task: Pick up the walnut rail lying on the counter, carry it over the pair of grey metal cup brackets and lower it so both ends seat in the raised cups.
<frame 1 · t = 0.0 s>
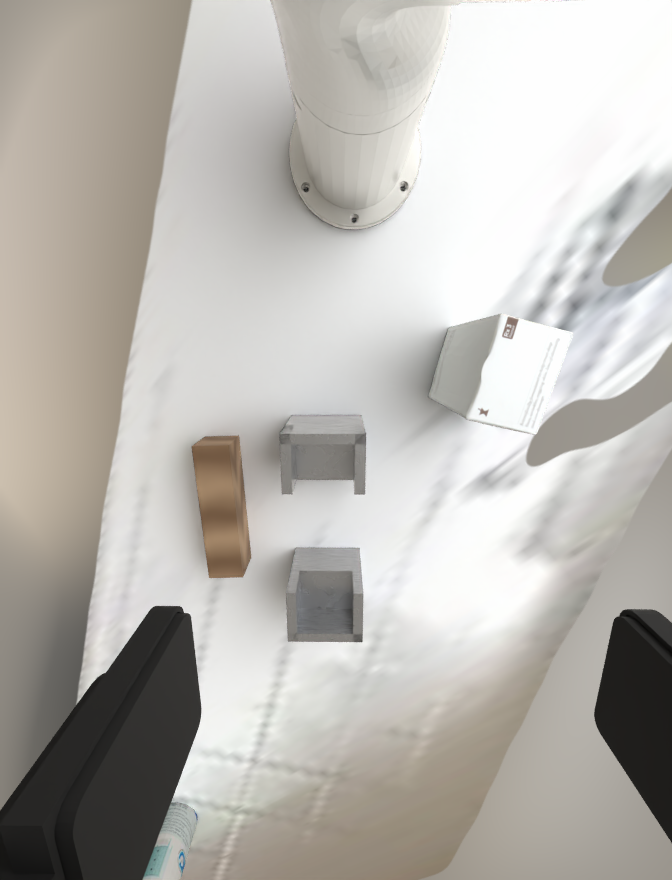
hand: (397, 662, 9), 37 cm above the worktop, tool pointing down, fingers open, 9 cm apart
brackets: (327, 507, 48), on the worktop
spray paint can: (178, 815, 62), on the worktop
walnut rail: (229, 498, 48), on the worktop
skincare box: (460, 366, 43), on the worktop
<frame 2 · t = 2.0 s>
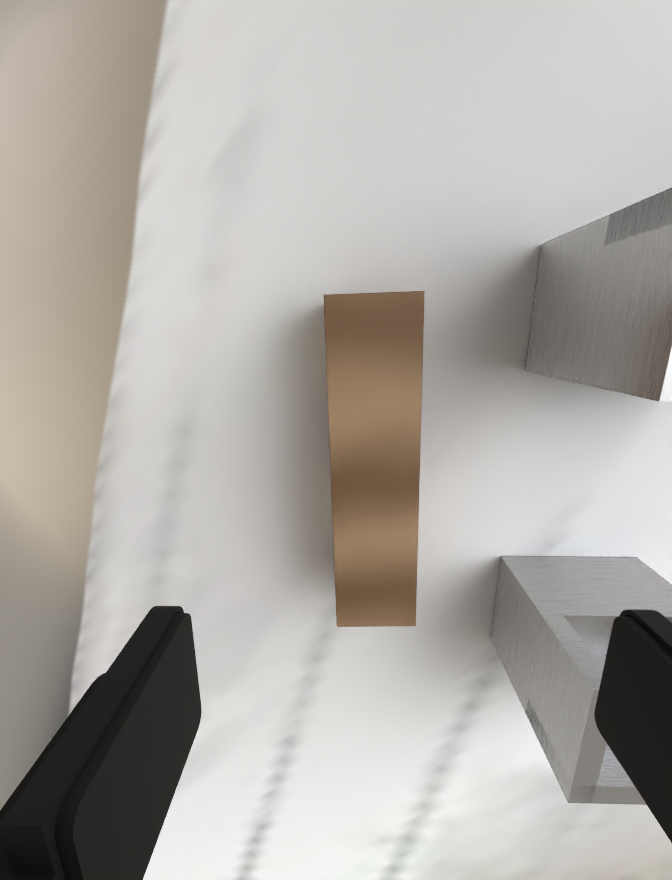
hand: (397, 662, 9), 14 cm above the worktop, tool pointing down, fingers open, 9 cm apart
brackets: (584, 470, 22), on the worktop
walnut rail: (369, 450, 22), on the worktop
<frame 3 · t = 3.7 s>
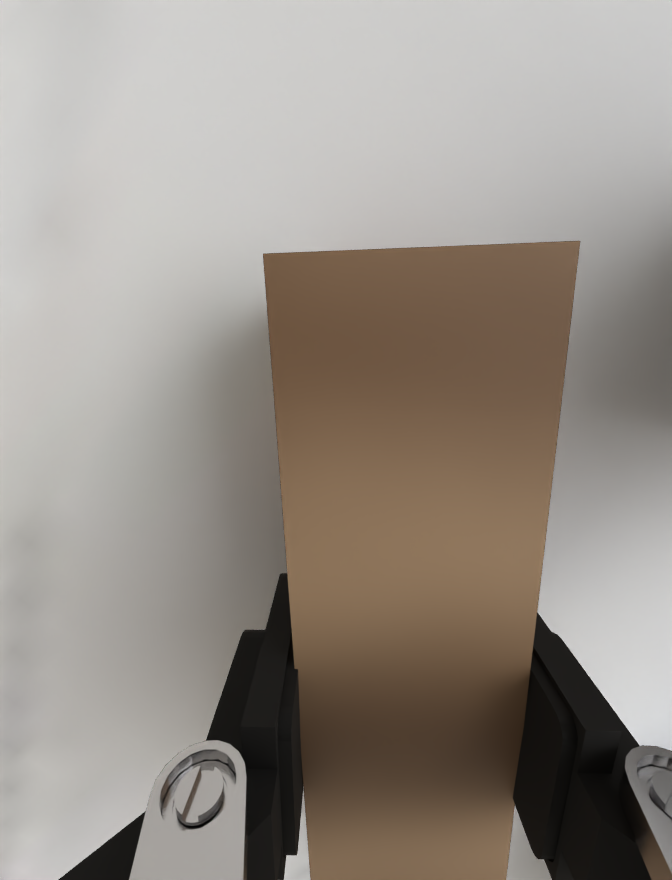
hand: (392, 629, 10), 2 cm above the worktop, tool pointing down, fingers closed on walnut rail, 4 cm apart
walnut rail: (384, 581, 11), on the worktop, touching gripper
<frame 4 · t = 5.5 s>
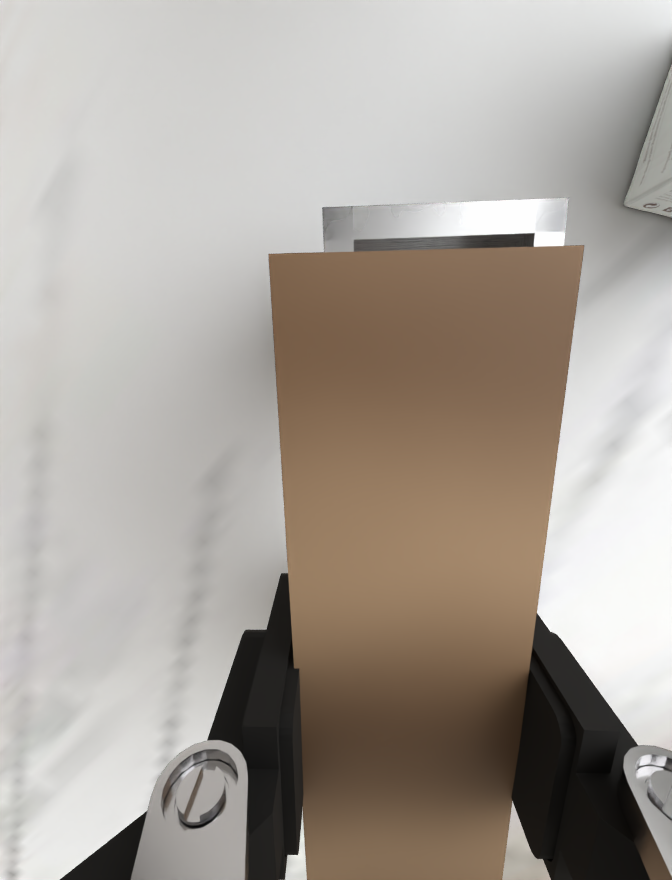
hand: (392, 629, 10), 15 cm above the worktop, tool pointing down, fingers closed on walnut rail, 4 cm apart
brackets: (400, 458, 24), on the worktop
walnut rail: (383, 582, 11), point 13 cm above the worktop, touching gripper
when the fingers open (8 cm above the worktop, at t = 7.7 s): walnut rail drops 1 cm, resting on brackets.
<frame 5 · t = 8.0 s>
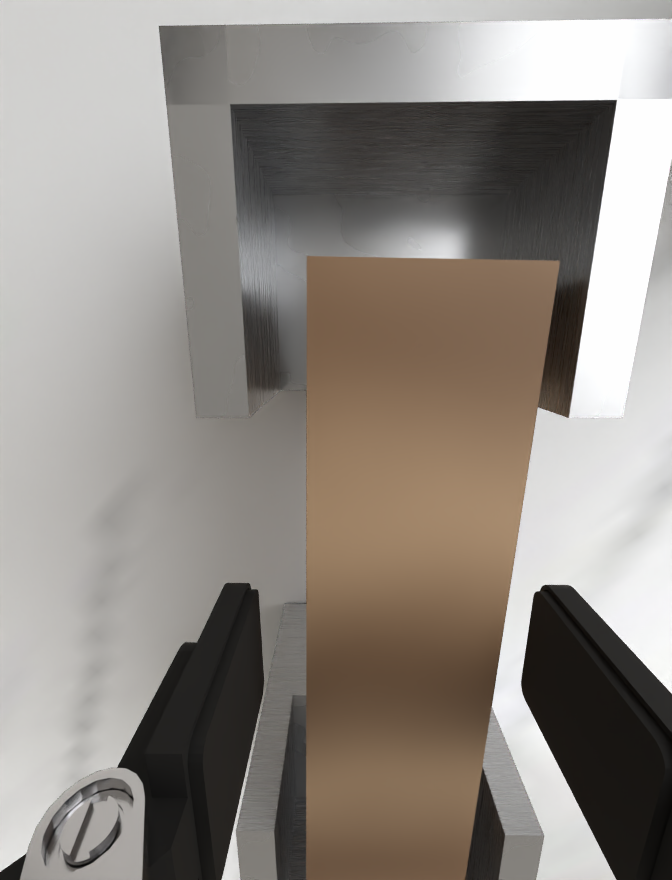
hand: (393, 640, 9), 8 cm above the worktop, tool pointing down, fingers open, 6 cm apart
brackets: (369, 498, 17), on the worktop
walnut rail: (380, 555, 13), point 5 cm above the worktop, touching brackets
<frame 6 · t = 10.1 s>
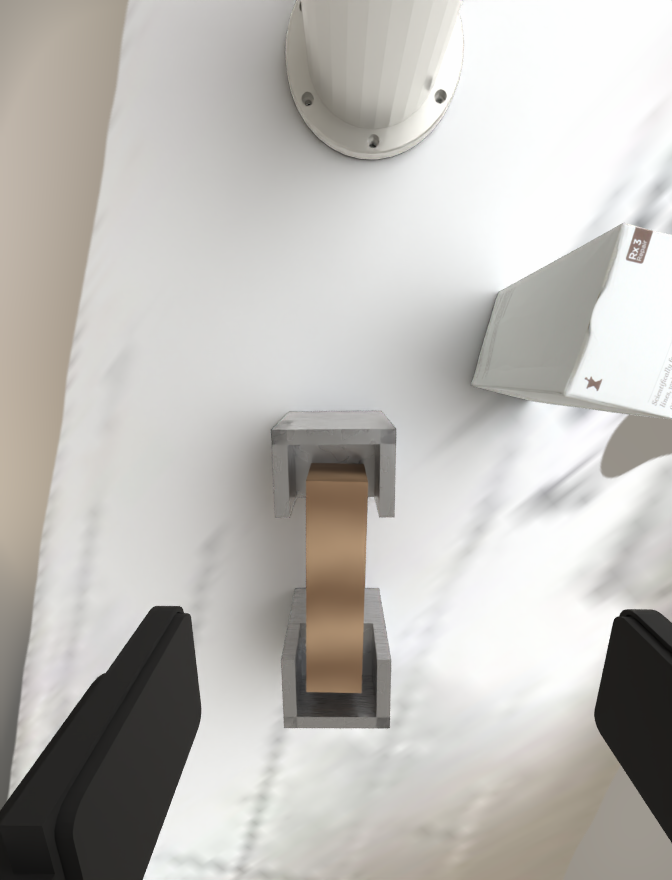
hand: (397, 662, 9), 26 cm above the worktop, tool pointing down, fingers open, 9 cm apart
brackets: (336, 534, 36), on the worktop
walnut rail: (336, 560, 31), point 5 cm above the worktop, touching brackets
skincare box: (513, 344, 33), on the worktop
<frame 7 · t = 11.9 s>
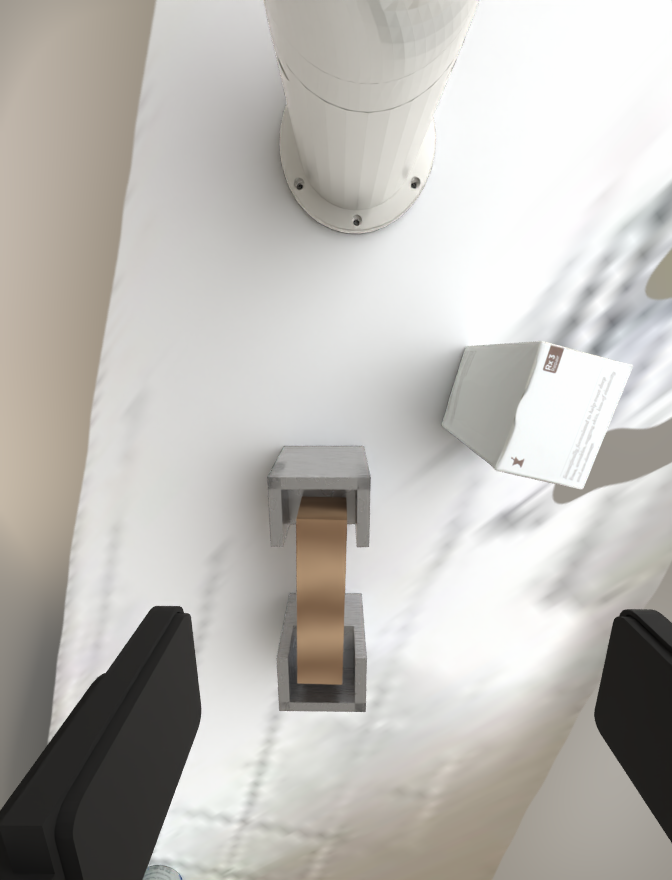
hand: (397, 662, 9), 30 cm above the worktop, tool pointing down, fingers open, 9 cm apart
brackets: (325, 549, 42), on the worktop
spray paint can: (161, 878, 56), on the worktop
walnut rail: (323, 575, 37), point 5 cm above the worktop, touching brackets
skincare box: (478, 390, 37), on the worktop
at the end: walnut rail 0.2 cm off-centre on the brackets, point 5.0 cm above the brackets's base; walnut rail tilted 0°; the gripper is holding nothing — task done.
